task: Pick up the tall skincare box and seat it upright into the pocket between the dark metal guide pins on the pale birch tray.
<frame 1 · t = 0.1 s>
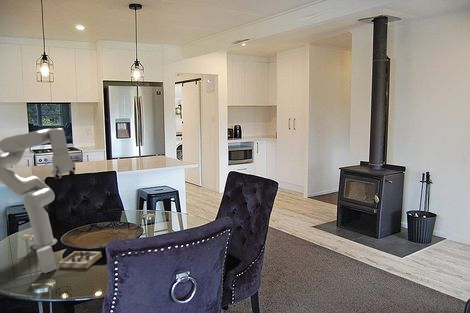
hand: (67, 182, 206), 37 cm above the table, tool pointing down, fingers open, 9 cm apart
pin tray: (81, 261, 193), on the table
skincare box: (49, 271, 186), on the table
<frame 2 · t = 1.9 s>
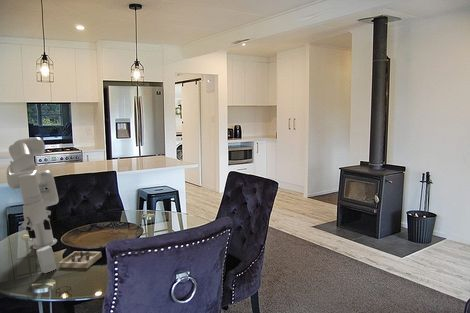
hand: (40, 233, 182), 20 cm above the table, tool pointing down, fingers open, 9 cm apart
nothing on the table moved.
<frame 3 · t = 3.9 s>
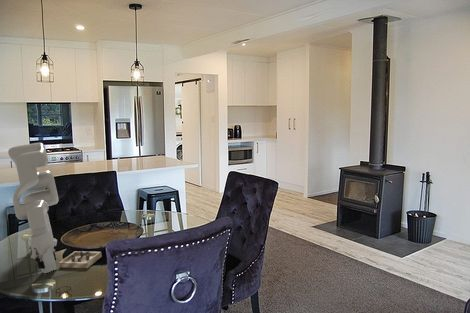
hand: (47, 264, 185), 4 cm above the table, tool pointing down, fingers closed on skincare box, 7 cm apart
skincare box: (49, 271, 186), on the table, touching gripper
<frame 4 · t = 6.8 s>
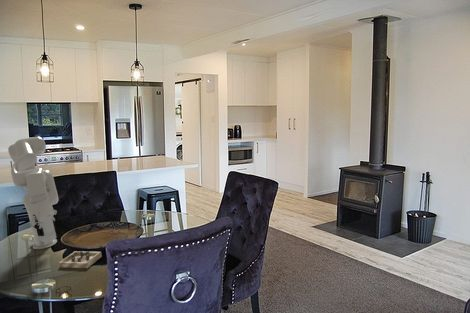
hand: (47, 232, 184), 20 cm above the table, tool pointing down, fingers closed on skincare box, 7 cm apart
skincare box: (48, 240, 184), point 16 cm above the table, touching gripper
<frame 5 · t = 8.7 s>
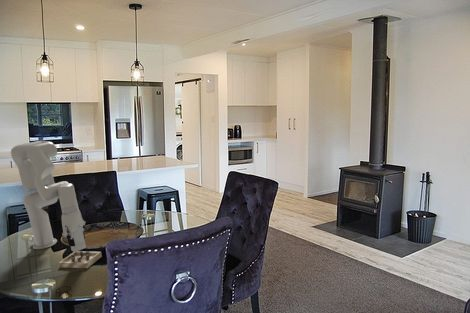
hand: (77, 242, 190), 11 cm above the table, tool pointing down, fingers closed on skincare box, 7 cm apart
skincare box: (78, 249, 191), point 7 cm above the table, touching gripper
when the fingers open (7 cm above the table, at t = 10.2 s): skincare box stays where it is, resting on pin tray.
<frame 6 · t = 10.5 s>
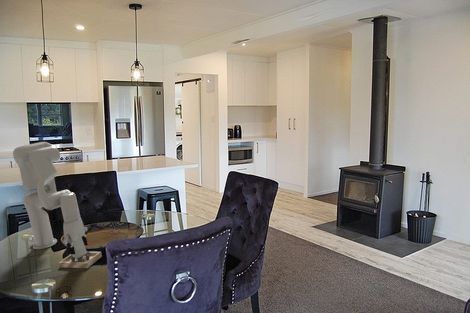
hand: (78, 249, 191), 7 cm above the table, tool pointing down, fingers open, 9 cm apart
skincare box: (80, 256, 192), point 3 cm above the table, touching gripper, pin tray
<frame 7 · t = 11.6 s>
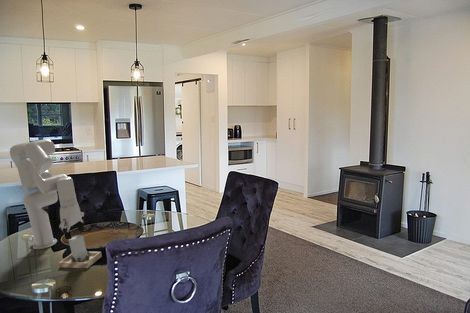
hand: (75, 234, 190), 15 cm above the table, tool pointing down, fingers open, 9 cm apart
skincare box: (80, 259, 192), point 1 cm above the table, touching pin tray
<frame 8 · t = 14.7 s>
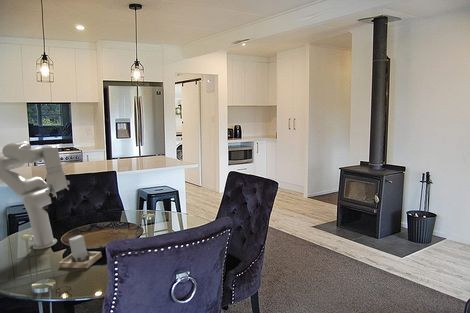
hand: (61, 200, 203), 28 cm above the table, tool pointing down, fingers open, 9 cm apart
nothing on the table moved.
at the end: skincare box 0.4 cm off-centre on the pin tray, point 1.1 cm above the pin tray's base; skincare box tilted 0°; the gripper is holding nothing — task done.
